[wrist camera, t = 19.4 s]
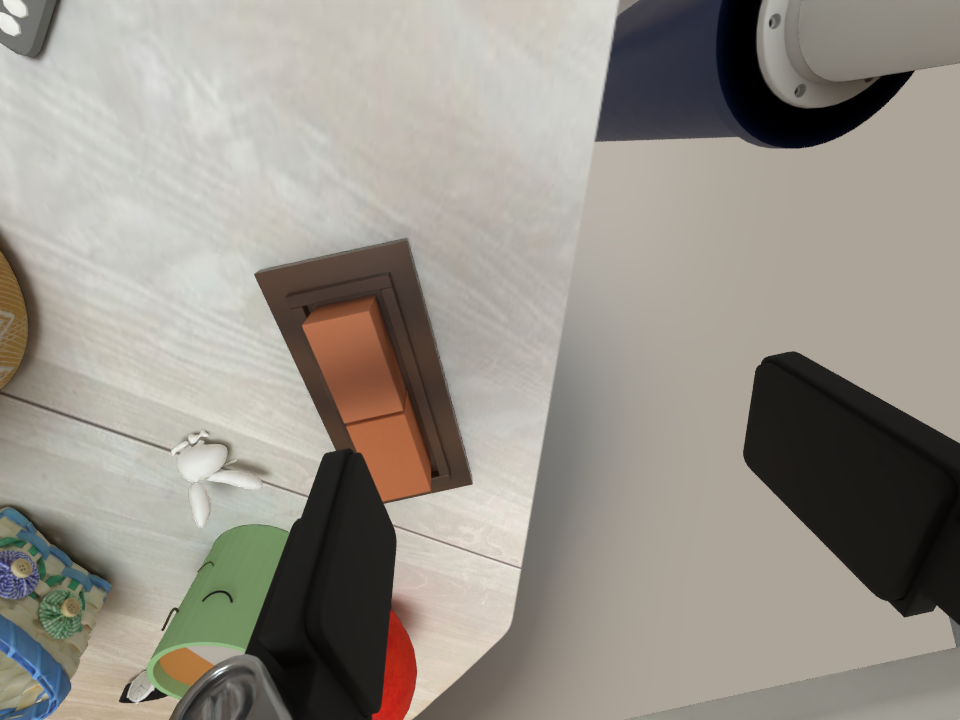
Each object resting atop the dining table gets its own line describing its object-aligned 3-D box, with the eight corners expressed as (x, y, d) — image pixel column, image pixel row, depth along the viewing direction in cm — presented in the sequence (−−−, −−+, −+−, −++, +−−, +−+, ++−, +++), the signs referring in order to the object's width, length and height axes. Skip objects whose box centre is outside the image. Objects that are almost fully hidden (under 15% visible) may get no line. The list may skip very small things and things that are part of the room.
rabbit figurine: (220, 416, 38) (265, 489, 38) (227, 420, 42) (268, 488, 42) (148, 452, 35) (196, 531, 35) (162, 453, 39) (206, 525, 39)
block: (353, 400, 37) (345, 427, 34) (407, 388, 37) (404, 414, 34) (383, 472, 42) (378, 502, 38) (431, 462, 42) (431, 491, 38)
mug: (267, 510, 44) (215, 625, 33) (324, 565, 49) (294, 681, 38) (170, 551, 45) (90, 675, 35) (235, 601, 50) (182, 723, 39)
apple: (414, 576, 51) (409, 705, 39) (423, 630, 57) (420, 758, 45) (317, 587, 50) (282, 721, 39) (335, 641, 56) (309, 773, 44)
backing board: (259, 269, 32) (230, 290, 28) (407, 237, 32) (403, 252, 28) (364, 500, 45) (356, 540, 40) (471, 476, 45) (476, 514, 40)
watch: (174, 660, 54) (158, 692, 51) (195, 677, 56) (181, 709, 53) (120, 675, 54) (101, 708, 51) (144, 691, 57) (126, 724, 53)
